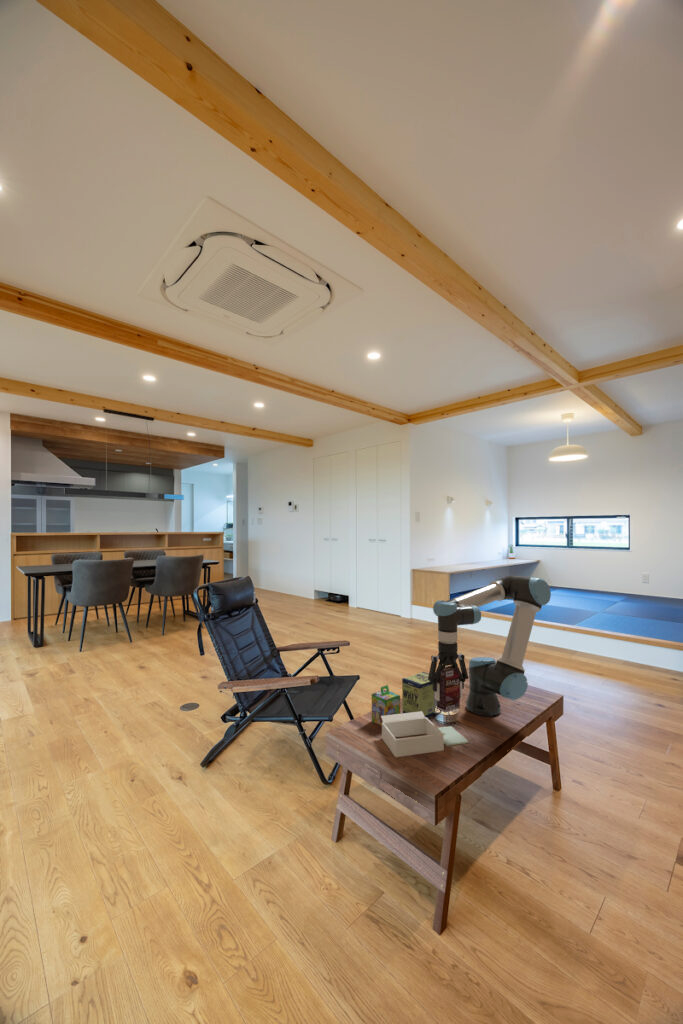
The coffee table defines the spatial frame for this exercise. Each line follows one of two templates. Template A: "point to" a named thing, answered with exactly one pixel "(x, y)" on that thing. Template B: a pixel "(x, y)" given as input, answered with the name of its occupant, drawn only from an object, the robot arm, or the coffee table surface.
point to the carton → (411, 726)
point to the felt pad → (452, 736)
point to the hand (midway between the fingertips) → (448, 698)
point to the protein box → (418, 694)
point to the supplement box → (449, 689)
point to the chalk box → (384, 704)
